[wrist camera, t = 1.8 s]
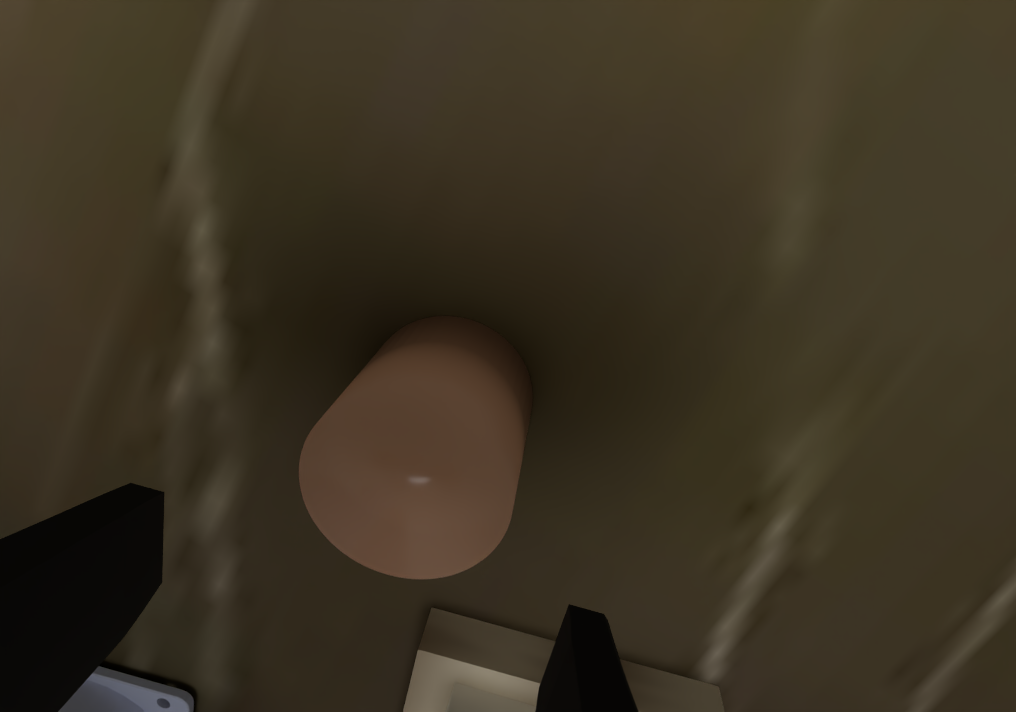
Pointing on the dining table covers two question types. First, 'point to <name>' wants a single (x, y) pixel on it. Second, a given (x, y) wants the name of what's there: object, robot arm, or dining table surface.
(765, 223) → the dining table surface
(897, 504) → the dining table surface
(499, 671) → the birch slab
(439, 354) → the terracotta cylinder
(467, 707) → the cream slab
